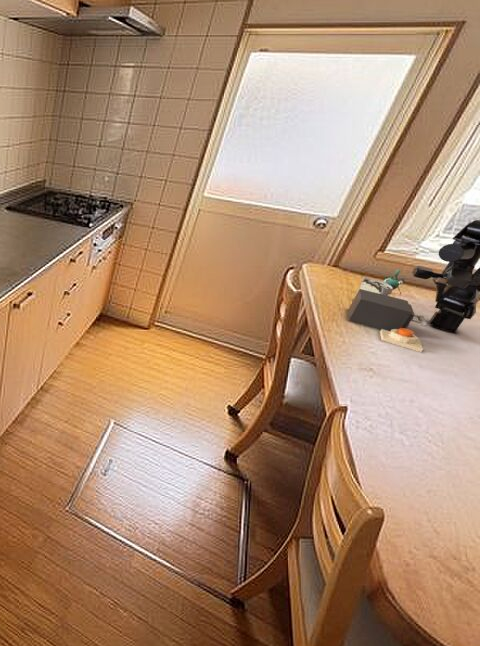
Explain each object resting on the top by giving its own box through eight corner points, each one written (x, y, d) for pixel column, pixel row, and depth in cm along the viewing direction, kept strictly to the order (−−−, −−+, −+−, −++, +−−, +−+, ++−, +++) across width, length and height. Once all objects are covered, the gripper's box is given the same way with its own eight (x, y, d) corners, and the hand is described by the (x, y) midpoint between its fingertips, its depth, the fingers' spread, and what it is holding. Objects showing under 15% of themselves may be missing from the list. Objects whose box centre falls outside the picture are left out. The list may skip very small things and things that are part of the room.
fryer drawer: (415, 326, 151) (426, 308, 148) (419, 338, 143) (431, 319, 140) (356, 310, 160) (366, 293, 157) (357, 320, 152) (367, 302, 149)
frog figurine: (390, 296, 178) (411, 265, 170) (397, 315, 165) (420, 283, 157) (362, 289, 182) (381, 259, 174) (366, 308, 170) (387, 276, 162)
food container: (388, 315, 160) (402, 291, 156) (370, 312, 161) (384, 289, 157) (367, 301, 171) (380, 279, 167) (351, 299, 172) (363, 276, 168)
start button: (410, 335, 141) (413, 330, 140) (411, 339, 139) (414, 334, 138) (396, 331, 143) (399, 326, 142) (397, 335, 141) (400, 330, 140)
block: (418, 342, 142) (423, 335, 141) (421, 352, 136) (426, 344, 135) (379, 331, 148) (384, 324, 146) (381, 340, 142) (386, 332, 140)
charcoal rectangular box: (394, 322, 155) (407, 300, 151) (397, 335, 146) (411, 312, 142) (347, 309, 162) (359, 288, 158) (348, 321, 153) (360, 299, 149)
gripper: (429, 257, 137) (403, 300, 144) (513, 274, 127) (481, 319, 134) (424, 249, 145) (400, 290, 152) (503, 265, 134) (473, 308, 142)
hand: (437, 301), depth 145 cm, fingers closed
